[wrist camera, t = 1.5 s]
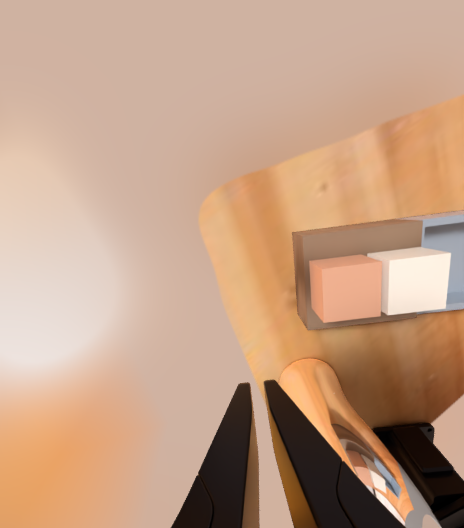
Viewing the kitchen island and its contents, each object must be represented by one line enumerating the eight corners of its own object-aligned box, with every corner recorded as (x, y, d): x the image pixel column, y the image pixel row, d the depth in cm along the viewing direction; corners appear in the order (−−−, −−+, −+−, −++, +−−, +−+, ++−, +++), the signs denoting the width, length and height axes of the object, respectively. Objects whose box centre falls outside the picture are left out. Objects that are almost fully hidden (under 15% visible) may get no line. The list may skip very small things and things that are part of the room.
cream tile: (416, 295, 18) (445, 308, 16) (366, 301, 18) (387, 315, 16) (419, 246, 17) (451, 252, 15) (367, 253, 17) (389, 260, 15)
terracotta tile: (360, 302, 18) (380, 316, 16) (311, 308, 18) (323, 322, 16) (360, 254, 17) (382, 261, 15) (309, 260, 17) (321, 269, 15)
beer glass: (330, 413, 24) (475, 715, 10) (268, 404, 24) (323, 700, 10) (348, 359, 23) (555, 622, 8) (282, 349, 23) (374, 602, 8)
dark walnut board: (391, 303, 21) (416, 317, 18) (297, 314, 22) (308, 330, 19) (394, 219, 20) (422, 220, 17) (292, 232, 20) (302, 236, 17)
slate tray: (501, 290, 21) (536, 300, 19) (391, 303, 21) (411, 314, 19) (514, 203, 19) (556, 202, 17) (394, 219, 20) (417, 220, 17)
